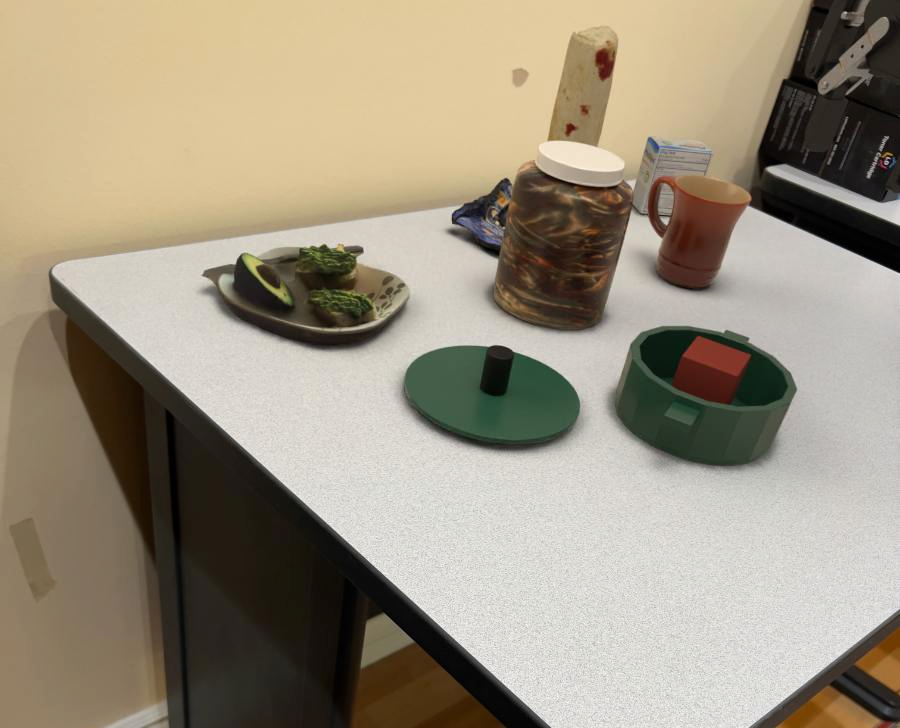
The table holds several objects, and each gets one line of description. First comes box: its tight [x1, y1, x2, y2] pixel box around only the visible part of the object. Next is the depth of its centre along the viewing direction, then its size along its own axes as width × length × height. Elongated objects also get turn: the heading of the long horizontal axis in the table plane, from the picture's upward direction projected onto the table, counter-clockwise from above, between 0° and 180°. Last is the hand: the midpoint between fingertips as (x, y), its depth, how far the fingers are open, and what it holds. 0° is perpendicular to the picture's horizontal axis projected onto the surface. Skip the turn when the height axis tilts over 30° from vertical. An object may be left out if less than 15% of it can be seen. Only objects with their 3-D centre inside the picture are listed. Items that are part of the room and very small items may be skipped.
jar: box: [492, 141, 634, 330], centre depth 90 cm, size 12×12×15 cm
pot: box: [614, 325, 798, 467], centre depth 79 cm, size 15×20×6 cm
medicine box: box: [632, 135, 714, 216], centre depth 119 cm, size 8×4×9 cm, turn 102°
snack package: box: [451, 177, 514, 252], centre depth 105 cm, size 12×6×12 cm
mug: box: [647, 174, 752, 289], centre depth 103 cm, size 12×9×10 cm
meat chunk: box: [672, 336, 751, 405], centre depth 79 cm, size 5×5×6 cm
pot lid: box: [403, 344, 581, 445], centre depth 77 cm, size 16×16×5 cm
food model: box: [546, 25, 619, 147], centre depth 113 cm, size 10×7×20 cm
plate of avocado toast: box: [201, 243, 411, 346], centre depth 87 cm, size 19×18×5 cm
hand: (854, 169), depth 67 cm, fingers open, 8 cm apart
